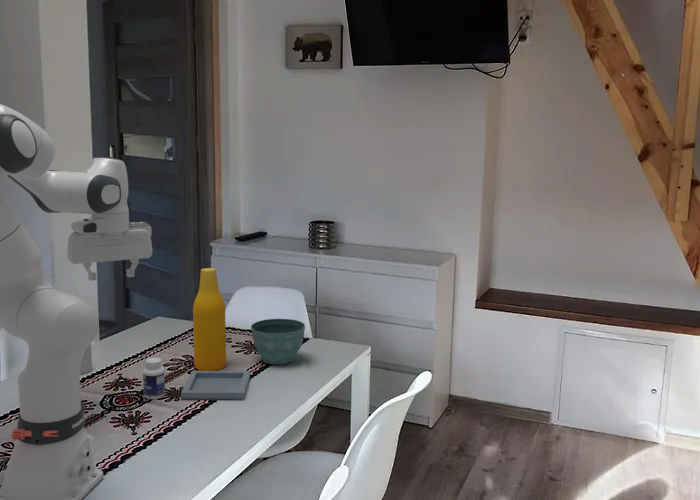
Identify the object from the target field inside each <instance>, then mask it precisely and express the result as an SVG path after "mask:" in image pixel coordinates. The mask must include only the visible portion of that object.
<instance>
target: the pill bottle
mask: <svg viewBox="0 0 700 500" xmlns="http://www.w3.org/2000/svg"><path fill="white" fill-rule="evenodd" d="M144 363H145V367H144V368H143V370H142V378H143V379H142V380H143V381H142V383H143V384H142V385H143V397H144V398H145V399H148V400H157V399H161V398H163V397H164V396H165V395H166V381H165V379H166V377H165V368H164V367H163V366H162V359H161V358H160V357H149V358H147V359H145V362H144Z"/></svg>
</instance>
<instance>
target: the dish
mask: <svg viewBox="0 0 700 500" xmlns="http://www.w3.org/2000/svg"><path fill="white" fill-rule="evenodd" d="M250 373H251V372H250V370H216V371H201V370H192V371H191V372H190V375H188V376H189V377H188V379H187V380H186V382H185V384H184V386H183V388H182V389H181V392H180V400H181V401H244V400H245V397H246V393H247V389H248V385H249V383H250V378H251V374H250Z"/></svg>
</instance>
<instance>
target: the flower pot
mask: <svg viewBox="0 0 700 500" xmlns="http://www.w3.org/2000/svg"><path fill="white" fill-rule="evenodd" d="M305 328H306V324H305V323H304V322H303V321H300V320H298V319H297V320H296V319H291V318H268V319H261V320H258V321H255V322H254V323H252V324H251V325H250V330H251V336H252V341H253V345H254V347H255V349H256V351H257V352H258V354H259V355H260V356H261V359H262V362H263V363H265V364H269V365H275V366H277V365H286V364H290V363H292V362H293V361H294V360H295V357H296V355H297V354H298V352H299V350H300V348H301V347H302V344H303V341H304V337H305V330H306V329H305Z"/></svg>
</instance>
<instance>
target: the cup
mask: <svg viewBox="0 0 700 500" xmlns="http://www.w3.org/2000/svg"><path fill="white" fill-rule="evenodd" d="M92 354H93V353H92V343H91V344H90V345H89V346H88V347H87V348H86V349H85V351H84V354H83V358H82V362H81V368H80V376H81V375H86V374H89V373H90V372H91V371H92V370H93V359H92V358H93V357H92V356H93V355H92Z"/></svg>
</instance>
